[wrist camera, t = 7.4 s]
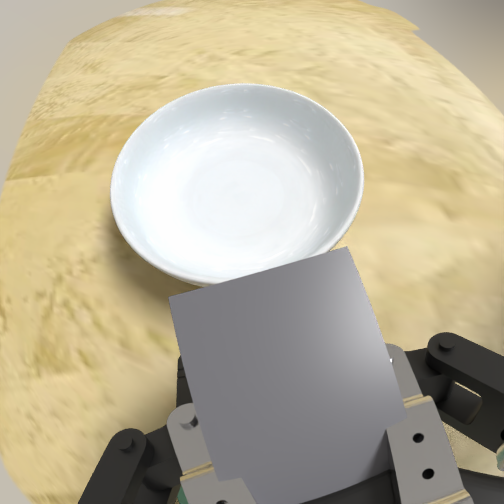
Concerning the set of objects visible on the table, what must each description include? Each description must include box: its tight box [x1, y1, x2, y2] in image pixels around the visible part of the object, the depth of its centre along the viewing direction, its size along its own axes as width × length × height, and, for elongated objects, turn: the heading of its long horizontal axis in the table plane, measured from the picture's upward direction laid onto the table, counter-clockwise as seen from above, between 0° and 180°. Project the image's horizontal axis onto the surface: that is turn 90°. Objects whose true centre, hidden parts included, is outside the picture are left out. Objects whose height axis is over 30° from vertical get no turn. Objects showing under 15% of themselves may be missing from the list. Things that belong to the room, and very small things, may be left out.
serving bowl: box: [110, 83, 364, 287], centre depth 26 cm, size 21×21×7 cm
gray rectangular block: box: [168, 246, 407, 504], centre depth 10 cm, size 5×4×10 cm
